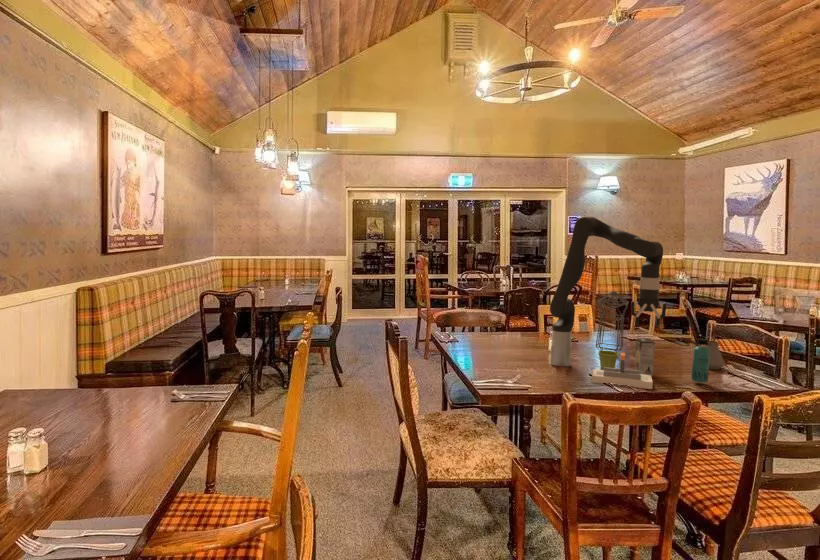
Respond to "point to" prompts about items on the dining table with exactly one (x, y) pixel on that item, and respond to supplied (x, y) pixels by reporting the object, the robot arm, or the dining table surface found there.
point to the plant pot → (607, 359)
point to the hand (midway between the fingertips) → (647, 326)
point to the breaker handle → (622, 363)
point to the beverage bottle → (701, 362)
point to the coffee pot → (712, 354)
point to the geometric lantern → (612, 317)
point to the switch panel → (622, 377)
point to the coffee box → (645, 356)
